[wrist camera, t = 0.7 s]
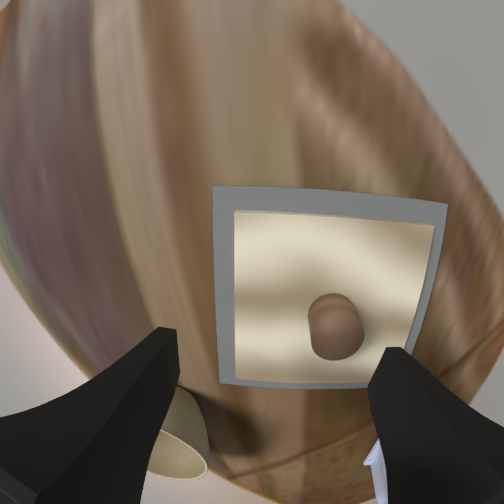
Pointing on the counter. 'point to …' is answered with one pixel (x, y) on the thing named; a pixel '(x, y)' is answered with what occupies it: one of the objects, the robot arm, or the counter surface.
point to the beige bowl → (181, 441)
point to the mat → (314, 203)
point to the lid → (323, 293)
